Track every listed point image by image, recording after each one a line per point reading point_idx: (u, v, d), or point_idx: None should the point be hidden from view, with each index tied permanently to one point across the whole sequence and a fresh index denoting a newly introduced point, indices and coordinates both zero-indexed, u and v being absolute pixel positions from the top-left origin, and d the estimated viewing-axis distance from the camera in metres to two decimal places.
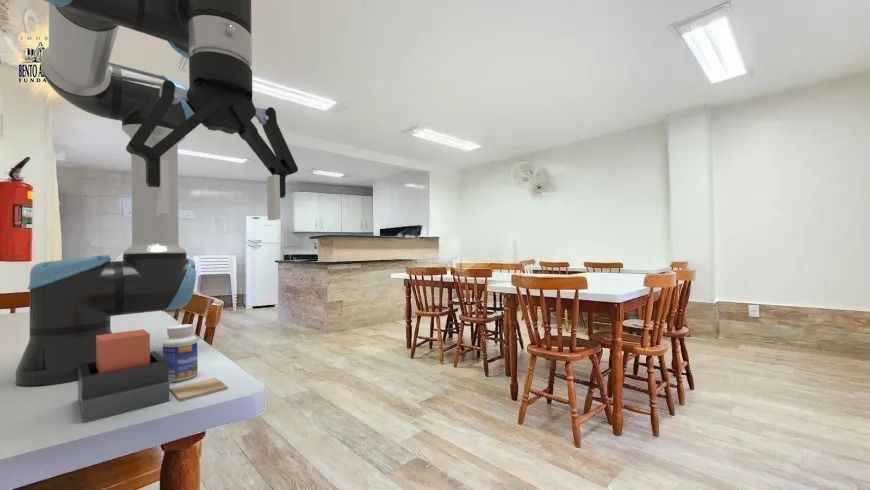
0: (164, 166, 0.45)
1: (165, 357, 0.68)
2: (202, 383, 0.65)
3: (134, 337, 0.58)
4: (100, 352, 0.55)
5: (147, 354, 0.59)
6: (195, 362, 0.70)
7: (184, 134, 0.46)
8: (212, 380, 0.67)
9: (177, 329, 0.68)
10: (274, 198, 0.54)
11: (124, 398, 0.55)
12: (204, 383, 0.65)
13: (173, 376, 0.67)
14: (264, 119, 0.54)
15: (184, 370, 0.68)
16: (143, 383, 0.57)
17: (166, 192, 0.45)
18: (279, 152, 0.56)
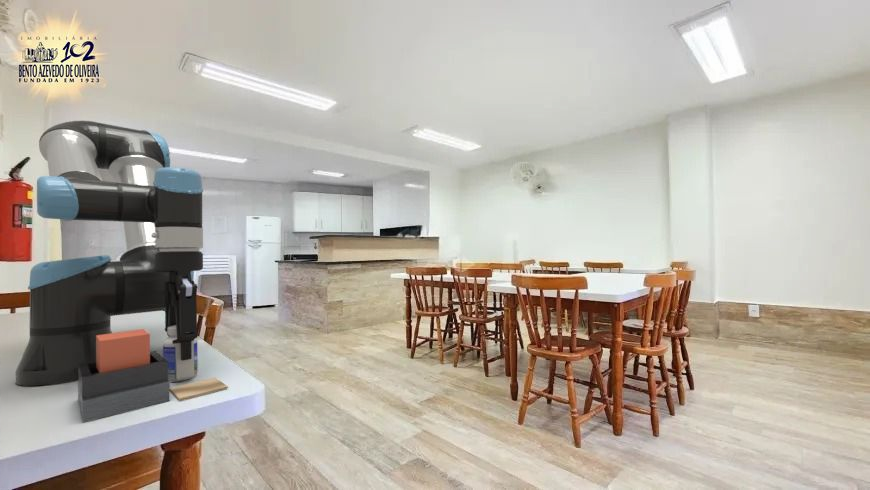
0: None
1: (165, 357, 0.68)
2: (202, 383, 0.65)
3: (134, 337, 0.58)
4: (100, 352, 0.55)
5: (147, 354, 0.59)
6: (195, 362, 0.70)
7: (169, 314, 0.71)
8: (212, 380, 0.67)
9: None
10: (176, 362, 0.67)
11: (124, 398, 0.55)
12: (204, 383, 0.65)
13: (173, 376, 0.67)
14: None
15: None
16: (143, 383, 0.57)
17: None
18: None
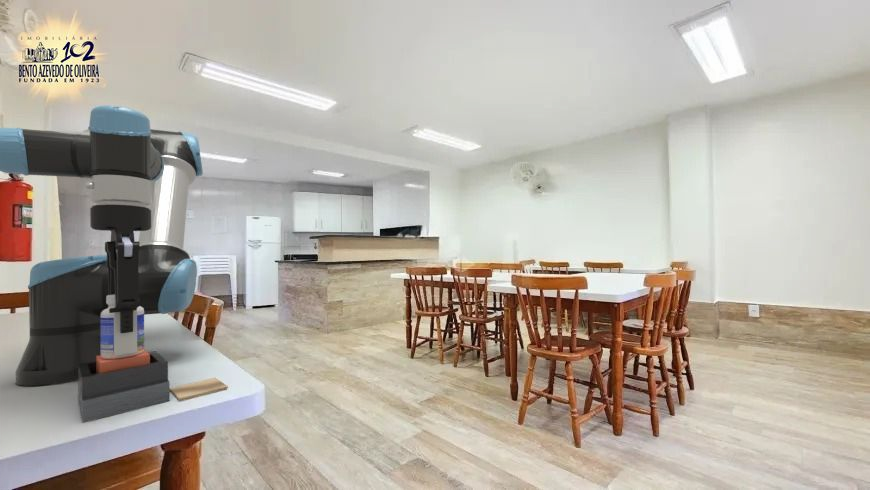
0: None
1: (102, 330, 0.57)
2: (202, 383, 0.65)
3: (134, 358, 0.58)
4: None
5: None
6: (140, 337, 0.60)
7: (111, 281, 0.61)
8: (212, 380, 0.67)
9: None
10: None
11: (124, 398, 0.55)
12: (204, 383, 0.65)
13: (111, 352, 0.57)
14: None
15: None
16: (143, 383, 0.57)
17: None
18: None
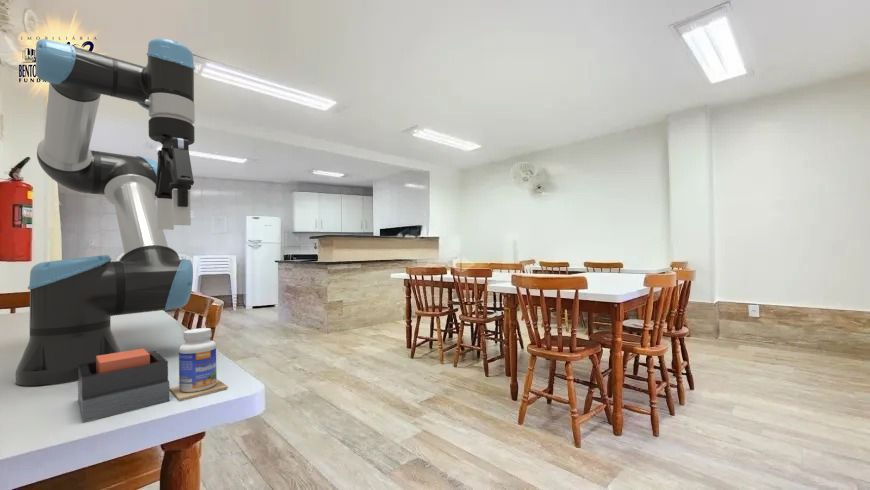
0: (157, 202, 0.78)
1: (182, 364, 0.61)
2: None
3: (134, 358, 0.58)
4: None
5: None
6: (214, 370, 0.64)
7: (160, 179, 0.77)
8: None
9: (195, 333, 0.62)
10: (172, 209, 0.69)
11: (124, 398, 0.55)
12: None
13: (190, 386, 0.61)
14: None
15: (203, 378, 0.62)
16: (143, 383, 0.57)
17: (157, 216, 0.78)
18: None
